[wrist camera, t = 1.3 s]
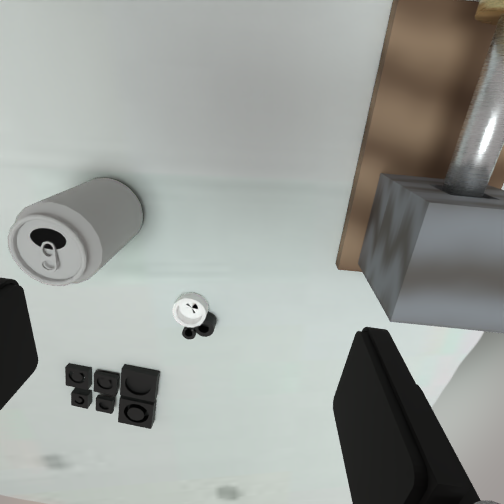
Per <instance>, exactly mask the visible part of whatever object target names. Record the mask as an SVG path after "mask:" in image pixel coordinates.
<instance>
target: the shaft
mask: <svg viewBox="0 0 504 504" xmlns="http://www.w3.org/2000/svg"><path fill="white" fill-rule="evenodd" d="M475 19H476V20H477V21H479V22H482V23H485V24H491V25H497V26H496V29H495V32H494V35H493V38H492V41H491V44H490V46H489V49H488V52H487V55H486V58H485V61H484V64H483V67H482V70H481V73H480V76H479V79H478V82H477V85H476V88H475V91H474V94H473V97H472V100H471V103H470V106H469V109H468V112H467V115H466V118H465V120H464V123H463V126H462V129H461V132H460V135H459V138H458V141H457V144H456V147H455V150H454V153H453V156H452V159H451V162H450V165H449V168H448V171H447V174H446V177H445V180H444V183H443V186H442V189H441V191H443V192H446V193H448V194H450V195H455V196H466V197H476V198H482V197H483V195H484V192H485V190H486V187H487V185H488V182H489V180H490V177H491V175H492V172H493V170H494V167H495V164H496V162H497V159H498V157H499V154H500V152H501V149H502V147H503V144H504V0H480V1H479V4H478V8H477V11H476V14H475Z"/></svg>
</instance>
